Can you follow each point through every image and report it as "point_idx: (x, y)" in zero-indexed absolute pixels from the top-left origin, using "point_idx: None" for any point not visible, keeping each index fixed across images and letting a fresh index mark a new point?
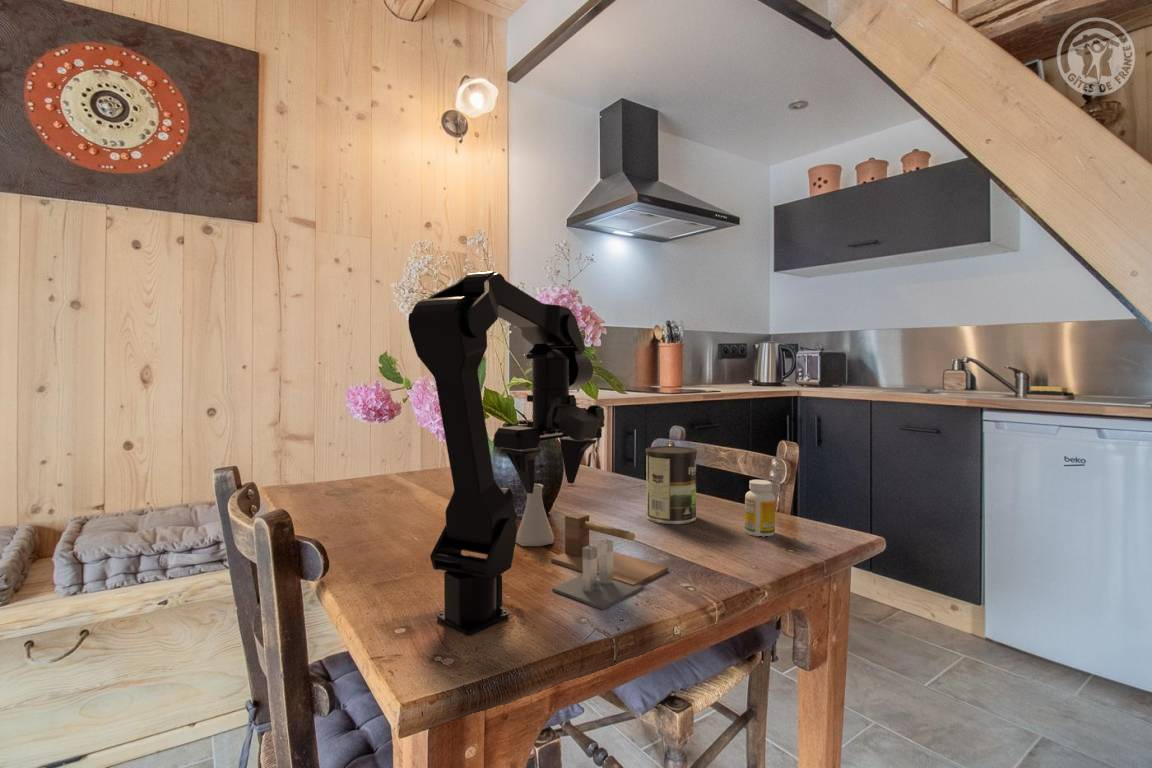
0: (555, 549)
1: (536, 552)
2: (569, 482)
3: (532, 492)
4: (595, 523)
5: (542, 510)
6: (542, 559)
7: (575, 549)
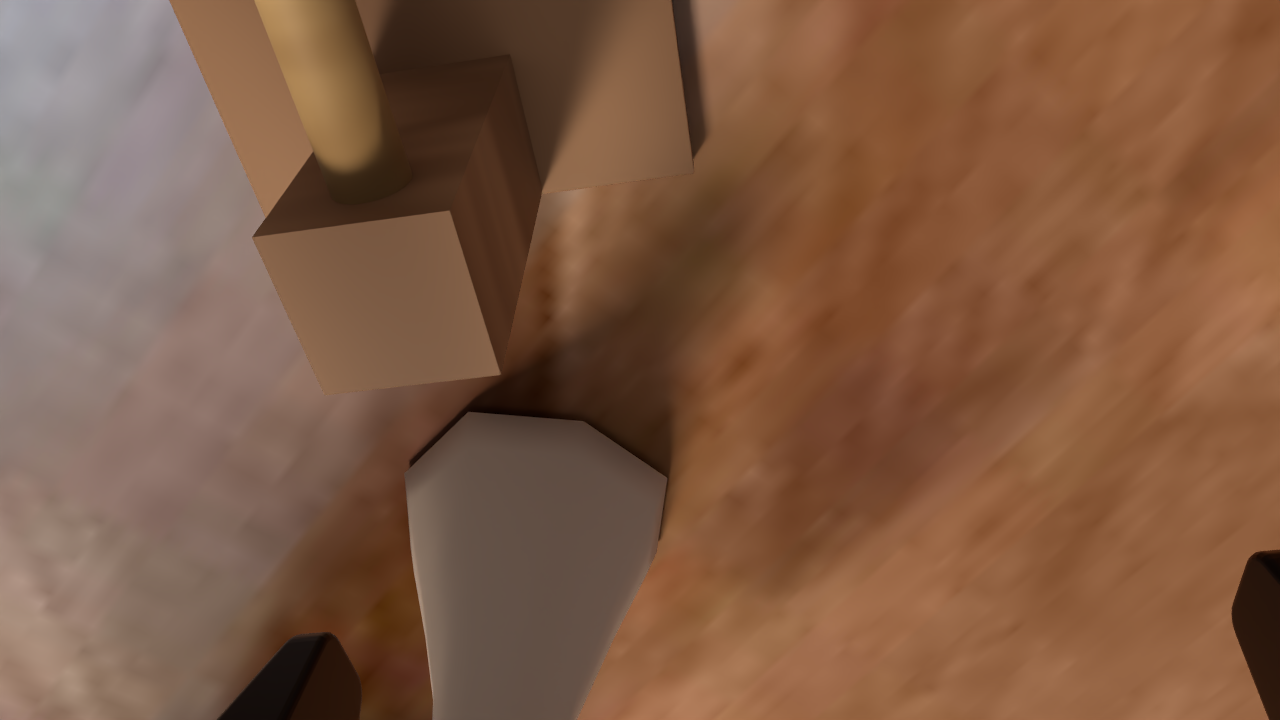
0: None
1: (652, 361)
2: (349, 673)
3: (1274, 555)
4: (292, 28)
5: (477, 646)
6: (707, 239)
7: (509, 101)
